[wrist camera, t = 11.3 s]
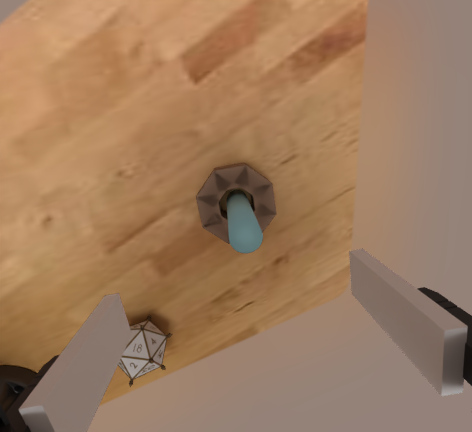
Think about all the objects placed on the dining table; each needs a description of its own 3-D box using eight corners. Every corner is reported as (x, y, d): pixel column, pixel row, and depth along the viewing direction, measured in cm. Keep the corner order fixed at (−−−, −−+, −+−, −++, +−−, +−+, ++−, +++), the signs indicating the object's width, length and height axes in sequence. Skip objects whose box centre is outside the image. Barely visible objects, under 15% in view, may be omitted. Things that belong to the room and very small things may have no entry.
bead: (208, 237, 40) (207, 247, 36) (194, 171, 38) (191, 175, 34) (273, 225, 40) (279, 234, 36) (264, 158, 38) (269, 160, 34)
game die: (161, 309, 47) (188, 328, 39) (151, 359, 46) (177, 389, 39) (107, 309, 42) (126, 332, 34) (95, 366, 41) (111, 403, 33)
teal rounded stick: (228, 211, 39) (232, 255, 24) (224, 191, 39) (225, 224, 23) (248, 207, 39) (265, 249, 24) (245, 187, 39) (259, 218, 23)
